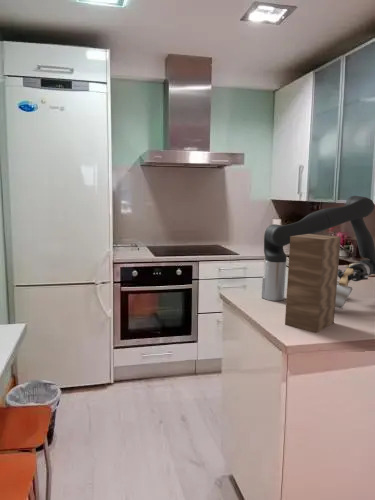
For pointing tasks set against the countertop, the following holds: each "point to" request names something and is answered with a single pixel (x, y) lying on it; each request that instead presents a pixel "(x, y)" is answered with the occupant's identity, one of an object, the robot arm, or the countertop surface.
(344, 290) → the rectangular straight-edged part
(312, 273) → the plinth
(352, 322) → the countertop surface
